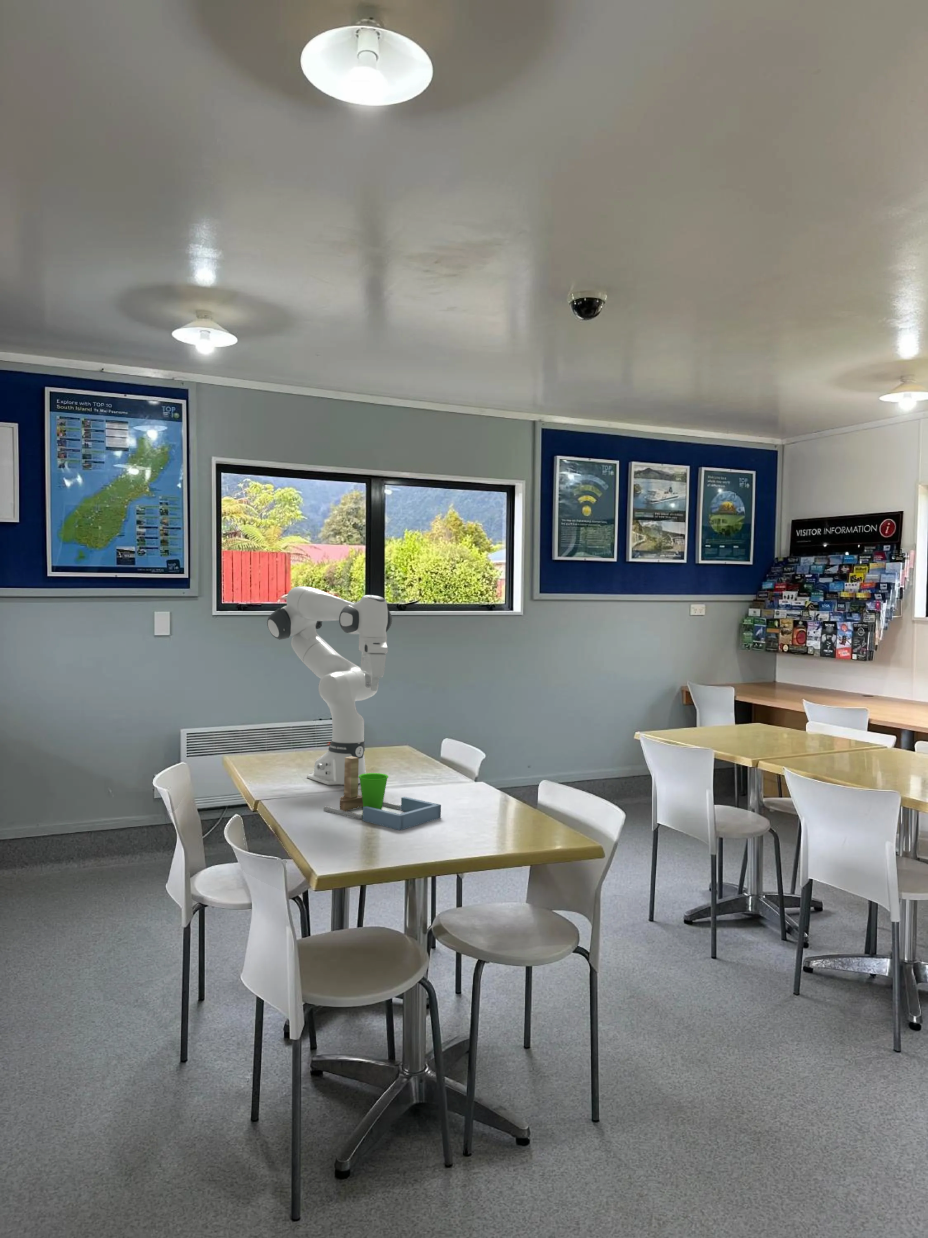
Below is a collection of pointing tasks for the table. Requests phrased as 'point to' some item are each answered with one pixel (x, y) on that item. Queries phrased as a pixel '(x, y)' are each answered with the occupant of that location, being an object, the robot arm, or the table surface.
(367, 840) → the table surface
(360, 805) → the stepped wooden block
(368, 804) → the cup
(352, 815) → the track
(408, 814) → the bay
